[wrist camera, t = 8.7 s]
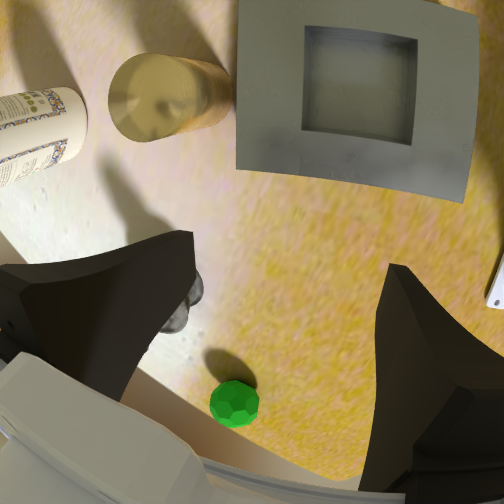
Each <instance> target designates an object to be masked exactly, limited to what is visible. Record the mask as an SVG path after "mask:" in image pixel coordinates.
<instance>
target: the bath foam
mask: <svg viewBox="0 0 504 504" xmlns="http://www.w3.org/2000/svg"><path fill="white" fill-rule="evenodd" d="M86 132H87V114H86V109H85V106H84V103H83V101H82V99H81V98H80V96H79V95H78V94H77V93H76V92H75V91H74V90H72V89H70V88H67V87H58V88H50V89H42V90H35V91H29V92H24V93H18V94H13V95H8V96H3V97H0V187H3V186H5V185H7V184H9V183H12V182H14V181H16V180H19V179H21V178H23V177H26V176H28V175H31V174H33V173H36V172H38V171H41V170H43V169H46V168H48V167H51V166H54V165H56V164H58V163H61V162H64V161H67V160H69V159H71V158H73V157H74V156H75V155H76V154H77V153H78V152H79V151H80V149H81V147H82V145H83V143H84V140H85V137H86Z"/></svg>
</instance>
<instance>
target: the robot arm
mask: <svg viewBox="0 0 504 504" xmlns="http://www.w3.org/2000/svg"><path fill="white" fill-rule="evenodd" d="M196 278H197V277H196V265H195V252H194V238H193V232H190V231H183V230H176V231H171V232H167V233H164V234H161V235H158V236H155V237H152V238H149V239H146V240H143V241H140V242H137V243H134V244H131V245H128V246H125V247H122V248H118V249H115V250H112V251H109V252H105V253H102V254H98V255H93V256H89V257H85V258H80V259H74V260H67V261H62V262H53V263H42V264H4V265H1V266H0V328H1V331H0V431H1V432H2V433H3V434H4V435H5V436H6V437H7V438H8V439H9V441H8V442H7V443H6V444H5V446H4V447H3V448H2V449H1V450H0V504H504V357H502V356H501V355H499V354H498V353H496V352H495V351H493V350H492V349H490V348H489V347H488V346H486V345H485V344H484V343H482V342H481V341H480V340H478V339H477V338H476V337H474V336H473V335H472V334H471V333H470V332H468V331H467V330H466V329H465V328H464V327H463V326H462V325H461V324H459V323H458V322H457V321H456V320H455V319H454V318H453V317H452V316H451V315H450V314H449V313H448V312H447V311H446V310H445V309H444V308H443V307H442V306H441V305H440V304H439V303H438V302H437V300H436V299H435V298H434V297H433V296H432V295H431V294H430V293H429V291H428V290H427V289H426V288H425V287H424V286H423V284H422V283H421V282H420V281H419V280H418V278H417V277H416V276H415V275H414V274H413V273H412V271H411V270H410V269H409V268H408V267H407V266H404V265H398V264H392V263H389V267H388V271H387V275H386V278H385V282H384V286H383V290H382V293H381V297H380V300H379V304H378V307H377V310H376V322H375V355H376V401H375V410H374V417H373V424H372V430H371V436H370V442H369V447H368V452H367V456H366V461H365V465H364V470H363V474H362V477H361V481H360V485H359V488H358V491H352V490H343V489H335V488H327V487H321V486H314V485H308V484H303V483H297V482H292V481H287V480H283V479H278V478H274V477H269V476H265V475H261V474H257V473H253V472H249V471H246V470H242V469H239V468H235V467H232V466H228V465H225V464H222V463H219V462H215V461H212V460H210V459H207V458H204V457H201V456H198V455H196V454H195V452H194V451H193V450H192V448H191V447H190V446H189V445H188V444H187V443H186V442H184V441H183V440H182V439H180V438H179V437H177V436H176V435H175V434H173V433H172V432H171V431H170V430H168V429H167V428H166V427H164V426H163V425H161V424H159V423H157V422H155V421H153V420H151V419H150V418H148V417H146V416H144V415H142V414H141V413H139V412H137V411H135V410H134V409H131V408H129V407H127V406H125V405H123V404H121V403H119V401H120V399H121V397H122V395H123V392H124V390H125V388H126V386H127V384H128V382H129V380H130V378H131V376H132V374H133V373H134V371H135V368H136V367H137V365H138V363H139V361H140V360H141V358H142V356H143V355H144V353H145V351H146V350H147V348H148V346H149V345H150V343H151V342H152V340H153V339H154V337H155V336H156V335H157V333H158V332H159V331H160V330H161V328H162V327H163V326H164V325H165V323H166V322H167V321H168V320H169V318H170V317H171V316H172V315H173V313H174V312H175V311H176V309H177V308H178V307H179V306H180V304H181V303H182V302H183V300H184V299H185V298H186V296H187V294H188V293H189V291H190V289H191V287H192V286H193V284H194V282H195V280H196ZM496 300H498V301H497V302H496V303H494V302H495V301H496ZM485 302H486V305H487V306H488V307H491V308H498V309H504V253H503V256H502V259H501V262H500V264H499V267H498V270H497V273H496V275H495V278H494V280H493V283H492V285H491V288H490V290H489V293H488V295H487V297H486V300H485Z"/></svg>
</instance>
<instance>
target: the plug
mask: <svg viewBox="0 0 504 504" xmlns="http://www.w3.org/2000/svg"><path fill="white" fill-rule="evenodd" d="M233 96H234V91H233V85H232V82H231V79H230V77H229V76H228V74H227V73H226V72H225V71H224V70H223V69H222V68H221V67H219V66H218V65H215V64H213V63H209V62H204V61H199V60H193V59H187V58H181V57H175V56H169V55H162V54H154V53H143V54H139V55H136V56H134V57H132V58H130V59H128V60H127V61H126V62H125V63H124V64H123V65H122V66H121V67H120V68H119V69H118V71H117V72H116V74H115V75H114V77H113V80H112V82H111V85H110V89H109V95H108V106H109V112H110V116H111V118H112V121H113V123H114V125H115V126H116V128H117V129H118V130H119V131H120V132H121V134H123V135H124V136H125V137H127V138H128V139H130V140H133V141H136V142H150V141H154V140H158V139H161V138H165V137H169V136H172V135H176V134H180V133H184V132H188V131H192V130H197V129H201V128H205V127H209V126H212V125H215V124H217V123H218V122H220V121H221V120H222V119H223V118H224V117H225V116H226V115H227V113H228V112H229V110H230V108H231V105H232V102H233Z"/></svg>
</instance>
